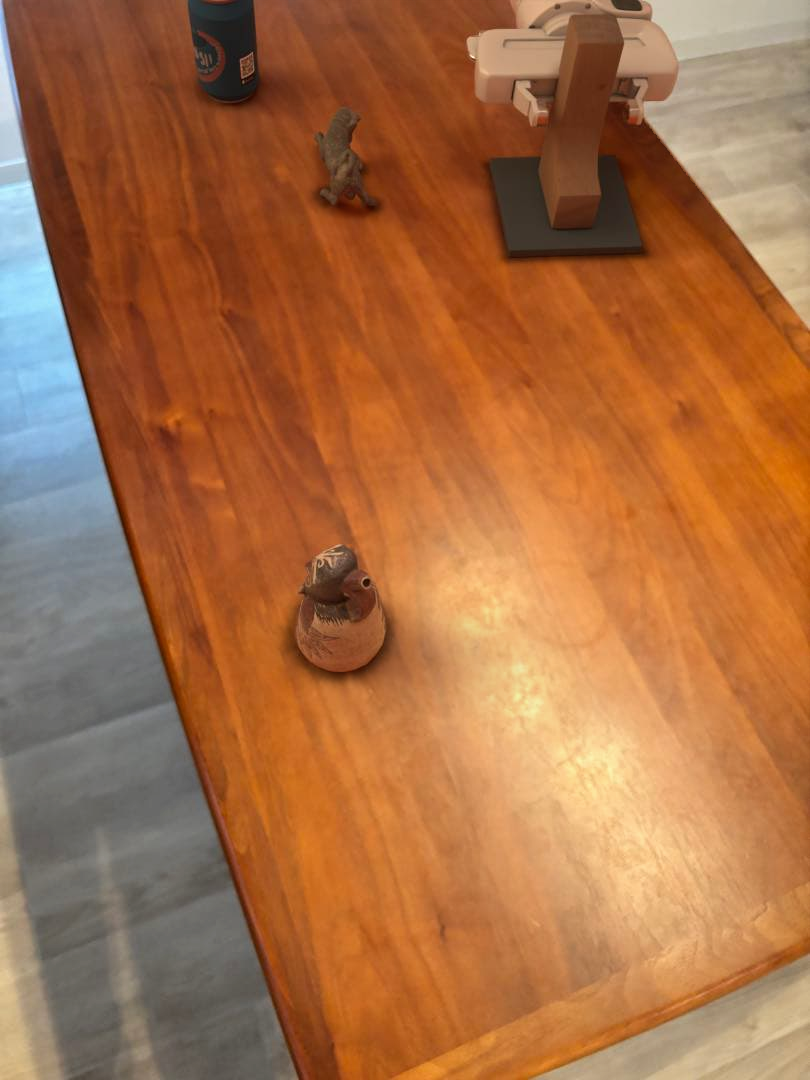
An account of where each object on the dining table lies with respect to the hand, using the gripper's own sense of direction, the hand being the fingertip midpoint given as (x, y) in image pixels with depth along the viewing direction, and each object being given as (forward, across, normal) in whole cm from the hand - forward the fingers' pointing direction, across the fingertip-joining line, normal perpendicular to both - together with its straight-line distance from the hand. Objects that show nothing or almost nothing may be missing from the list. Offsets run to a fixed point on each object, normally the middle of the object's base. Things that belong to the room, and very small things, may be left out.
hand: (588, 119), depth 97 cm
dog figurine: (-6, -23, +12) cm, 27 cm away
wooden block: (-1, 0, +11) cm, 11 cm away
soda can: (-22, -35, +12) cm, 43 cm away
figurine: (+47, -27, +12) cm, 56 cm away
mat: (-1, 0, +12) cm, 12 cm away
